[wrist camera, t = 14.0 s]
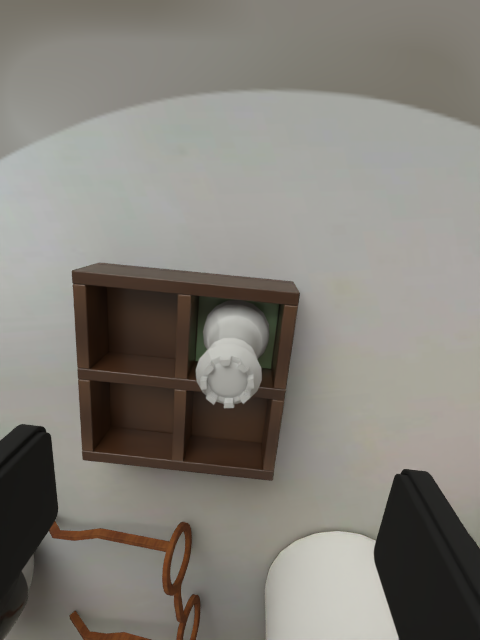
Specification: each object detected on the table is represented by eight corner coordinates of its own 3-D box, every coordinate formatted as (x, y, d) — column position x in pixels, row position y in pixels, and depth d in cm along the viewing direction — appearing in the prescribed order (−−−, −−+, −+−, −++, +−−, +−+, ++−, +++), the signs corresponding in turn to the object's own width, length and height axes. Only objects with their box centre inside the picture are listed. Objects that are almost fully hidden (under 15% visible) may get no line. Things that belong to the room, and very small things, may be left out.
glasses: (203, 614, 33) (193, 682, 28) (73, 612, 34) (42, 678, 29) (189, 506, 29) (175, 563, 24) (43, 507, 30) (2, 563, 25)
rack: (98, 262, 23) (71, 270, 20) (293, 281, 23) (300, 292, 19) (104, 429, 27) (82, 460, 24) (270, 447, 27) (272, 481, 23)
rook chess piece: (191, 322, 23) (159, 374, 16) (243, 284, 22) (235, 319, 15) (231, 370, 24) (218, 441, 17) (282, 335, 23) (294, 394, 16)
